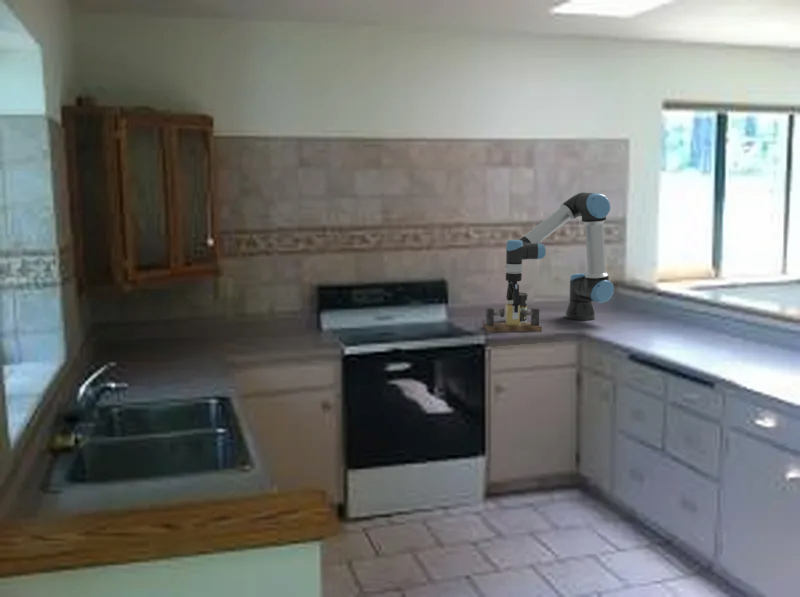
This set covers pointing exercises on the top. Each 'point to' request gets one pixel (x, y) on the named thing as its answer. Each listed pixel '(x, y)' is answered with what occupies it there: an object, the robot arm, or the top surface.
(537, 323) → the shaft stand
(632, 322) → the top surface
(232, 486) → the top surface
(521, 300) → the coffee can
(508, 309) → the coupler
